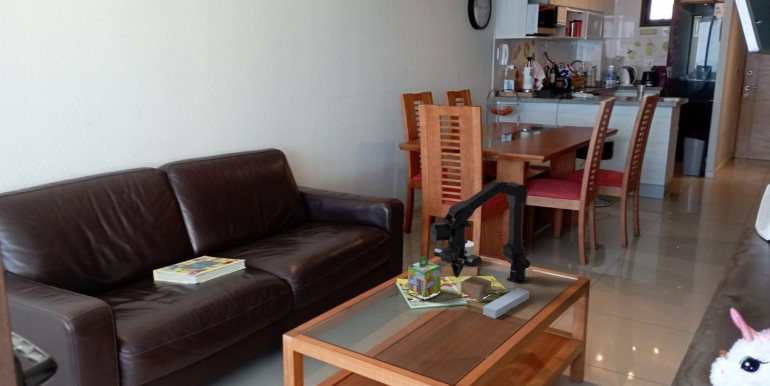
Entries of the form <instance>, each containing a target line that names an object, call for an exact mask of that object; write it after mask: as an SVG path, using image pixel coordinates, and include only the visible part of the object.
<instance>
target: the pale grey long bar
mask: <svg viewBox="0 0 770 386" xmlns="http://www.w3.org/2000/svg"><path fill="white" fill-rule="evenodd" d="M528 298H529V299H530V291H528V290H525V289H523V288H519V287H517V288H515V289H513V290H511V291H510V292H507V293H506V294H504V295H502V296H500V297H499V298H496V299H495V300H492V301H491V302H489V303H487V304H485V305H484V306H482V307H483V310H482V314H483V315H484V316H487V317H489V318H492V319H497V318H498V317H501V316H502V315H504V314H505V313H508V312H509V311H511V310H512V309H511V308H513V307H514V306H516V305H517V304H518V303H520V302H522V301H523V300H526V299H528ZM529 299H528V300H529ZM516 307H517V306H516ZM510 309H511V310H510ZM513 309H514V308H513ZM508 310H509V311H508ZM507 311H508V312H507Z"/></svg>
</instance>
